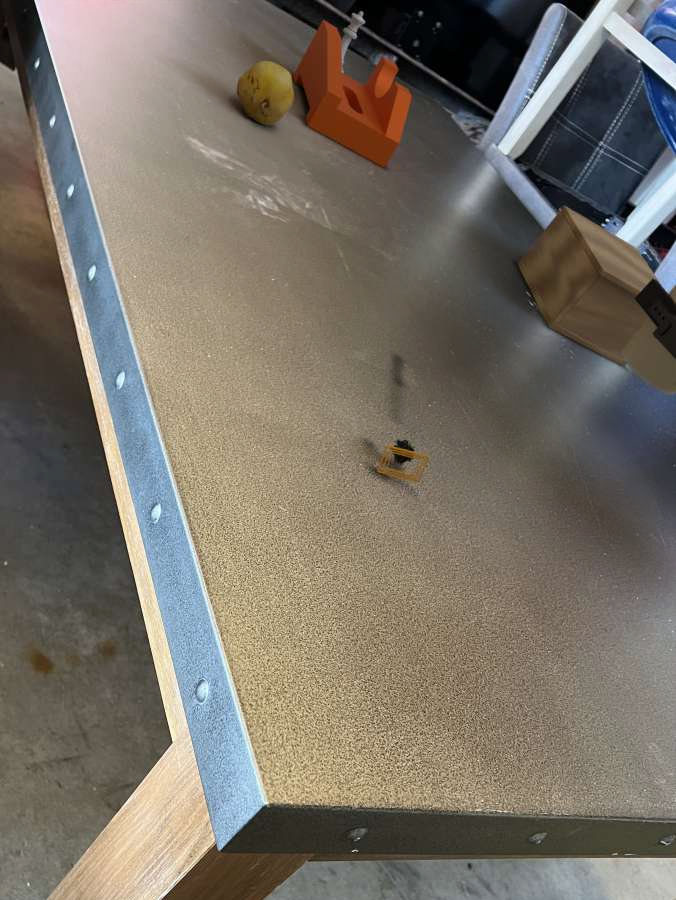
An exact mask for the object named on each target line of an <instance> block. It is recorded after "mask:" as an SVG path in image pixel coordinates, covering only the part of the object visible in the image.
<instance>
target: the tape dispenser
mask: <svg viewBox="0 0 676 900" xmlns="http://www.w3.org/2000/svg"><path fill="white" fill-rule="evenodd" d="M341 40H342V37H341V35H340V32H339V30H338V28H337V26H334V25H333V24H331V23H329V22H328V21H327V20H325V19H322V21H321V23H320V25H319V27H318V28H317V30H316V31H315V34H314V36H313V38H312V39H311V41H310V43H309V45H308V47H307V49H306V51H305V53H304V55H303V56H302V58H301V60H300V62H299V64H298V66H297V68H296V70H295V71H294V73H293V75H292V78H293V80H294V84H297V85H298V86H300V87H302V88H304V92H305V95H306V99H307V102H308V105H309V111H308V112H307V114H306V116H305V121H306V125H307V126H308V127H309V128H311V129H313V130H315V131H316V132H318V133H320V134H322V135H324V136H325V137H327V138H329V139H331V140H333V141H335V142H336V143H339V144H340V145H342V146H343V147H345V148H347V149H350V150H351V151H353V152H354V153H357V154H359V155H360V156H362V157H363V158H365V159H368V160H369V161H371V162H373V163H375V164H377V165H378V166H380V167H382V168H385V167H386V166H387V164H388V163H389V161H390V160H391V157H392V156H393V155H394V153H395V152H396V150H397V148H398V147H399V145H400V143H401V139H402V135H403V131H404V128H405V124H406V121H407V116H408V114H409V109H410V105H411V102H412V97H413V96H412V94H411V92H410V89H408V88H407V87H405V86H403V85H402V84H400V83H399V82H396V81H394V79H395V78H396V75H397V74H398V72H399V67H398V65H397V63H396V62H394V61H393V60H391V59H389V58H388V57H386V56H384V55H381V57H380V59H378V62H377V64H376V65H375V67H374V68H373V70H372V72H371V74H370V76H369V77H368V79H367V80H366V82H365V84H363V83H361V82H359V81H357V80H356V79H354V78H352V77H350V76H349V75H347V74H345V73H344V72H343V73H342V67H343V65H342V42H341ZM393 81H394V82H393Z"/></svg>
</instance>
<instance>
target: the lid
mask: <svg viewBox="0 0 676 900" xmlns="http://www.w3.org/2000/svg"><path fill="white" fill-rule="evenodd" d="M560 211H561V212H562V214H563V215H564V217H565V219H566V220H567V222H568V224H569V225H570V227H571V229H572V230H573V232H574V234H575V235H576V237H577V239H578V240H579V242H580V244H581V245H582V247H583V249H584V251H585V252H586V254H587V256H588V257H589V259H590V261H591V262H592V264H593V266H594V267H595V269H596V271H597V272H598V274H599V275H601V276H602V277H604V278H606V279H608V280H609V281H611V282H613V283H615V284H616V285H618V286H620V287H622V288H624V289H625V290H627V291H629V292H631V293H632V294H634V295H636V296H637V295H638V294H639V293H640V292H641V291H642V290H643V289H644V287H645V286H646V285H647V284H648V283H649V282H650V281H651V280H652V279H655V280H657V281H658V282H659V283H660V285H661V286H662V287H663V285H662V284H661V282H660V280H659V279H658V278H657V276H656V274H655V273H654V272H653V271H652V269H651V267H650V266H649V264H648V263H647V261H646V260H645V258H644V257H643V256H642V254H641V253H640V251H639V250H638V247H636V246H634V245H632V244H631V243H629V242H627V241H625V240H624V239H622V238H620V237H619V236H618V235H616V234H614V233H612V232H611V231H609V230H607V229H605V228H604V227H602V226H600V225H599V224H597V223H596V222H593V221H592V220H590V219H588V218H587V217H585V216H583V215H582V214H580V213H579V212H577V211H574V210H573V209H571V208H569V207H568V206H566V205H563V206H562V208H560Z"/></svg>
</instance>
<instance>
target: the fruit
mask: <svg viewBox="0 0 676 900" xmlns="http://www.w3.org/2000/svg"><path fill="white" fill-rule="evenodd" d="M236 95H237V97H238V99H239V101H240V103H241V105H242V108H243V110H244V111H245V113H246V115H247V116H249V117H250V118H252V119H253V120H254V121H256V122H257V123H259V124H261V125H273V124H275V123H277V122H279V121H281V119H282V118H283V117H284V116H285V115H286V114H287V113H288V112H289V110H290V109H291V108H292V106H293V104H294V100H295V93H294V87H293V76H292V74H291V72H290V71H289V70H287V69H286V68H285V67H283V66H281V65H280V64H278V63H276V62H273V61H270V60H261V61H259V62H256V63H255V64H254V65H253V66H252V67H250V68H249V69H248V70H246V71H244V73H243V74H242V75H241V76H240V77H239V78H238V80H237V82H236Z"/></svg>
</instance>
